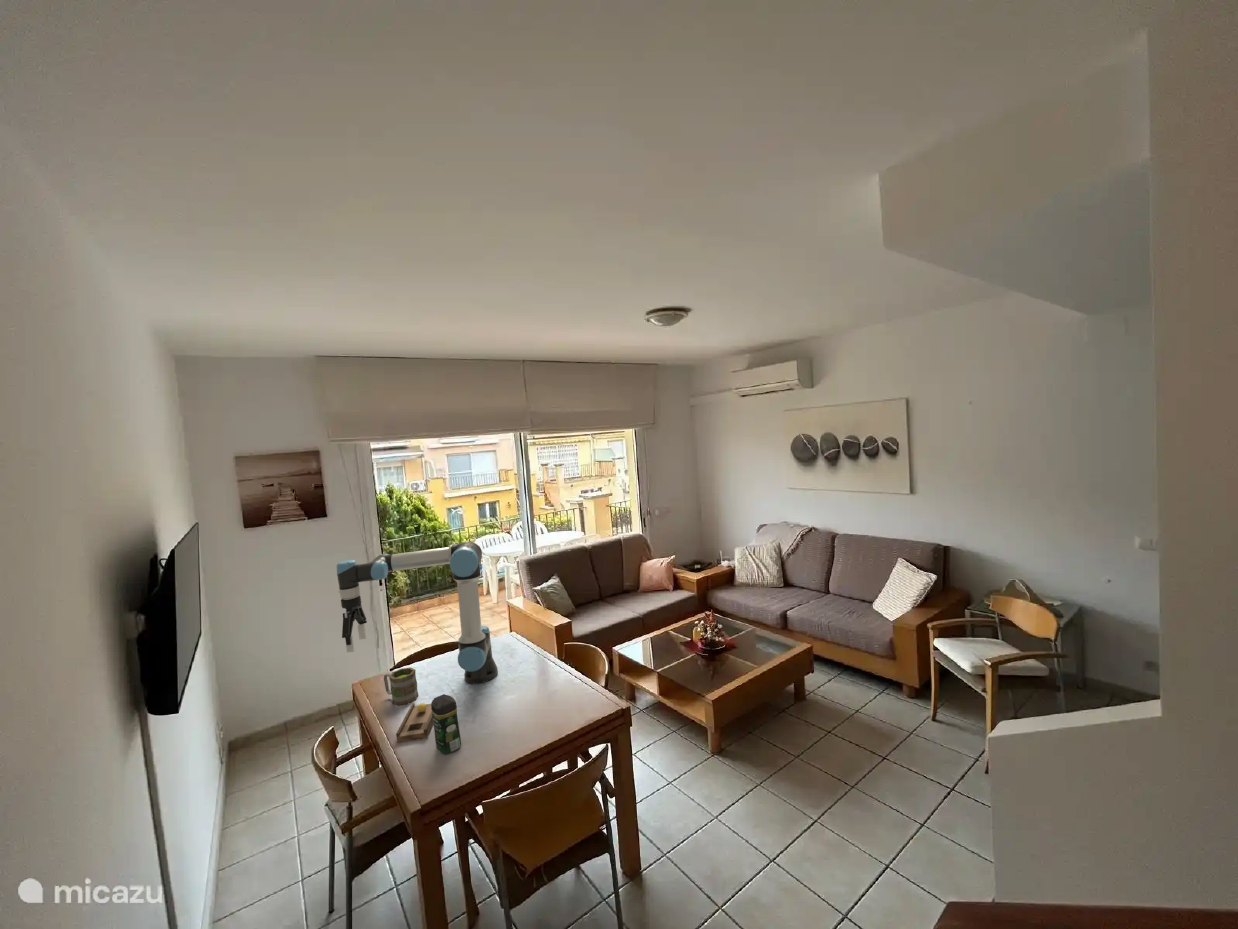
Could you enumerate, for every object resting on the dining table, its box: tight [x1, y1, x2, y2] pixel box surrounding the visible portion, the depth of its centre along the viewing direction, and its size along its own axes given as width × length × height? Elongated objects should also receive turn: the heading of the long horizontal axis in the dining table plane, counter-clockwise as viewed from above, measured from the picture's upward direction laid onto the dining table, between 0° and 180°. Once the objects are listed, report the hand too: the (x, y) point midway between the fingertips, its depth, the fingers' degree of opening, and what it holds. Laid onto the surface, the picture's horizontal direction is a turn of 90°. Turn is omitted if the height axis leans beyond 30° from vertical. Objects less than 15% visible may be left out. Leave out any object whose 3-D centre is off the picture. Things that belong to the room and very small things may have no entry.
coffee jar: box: [430, 693, 462, 755], centre depth 190 cm, size 10×8×19 cm
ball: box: [416, 702, 427, 713], centre depth 212 cm, size 4×4×4 cm
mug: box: [383, 667, 419, 707], centre depth 230 cm, size 16×11×12 cm
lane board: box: [395, 702, 434, 744], centre depth 208 cm, size 11×22×4 cm, turn 7°
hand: (357, 645), depth 224 cm, fingers open, 13 cm apart
